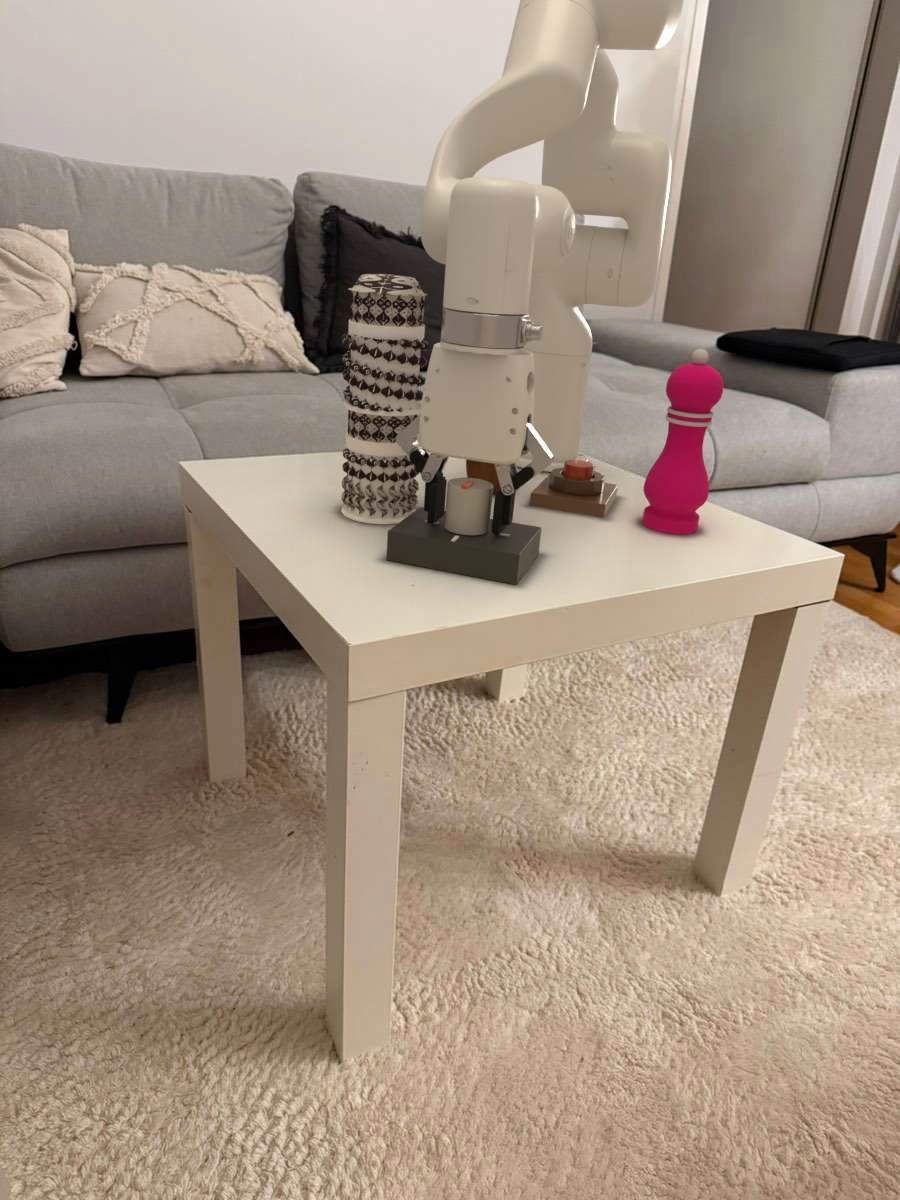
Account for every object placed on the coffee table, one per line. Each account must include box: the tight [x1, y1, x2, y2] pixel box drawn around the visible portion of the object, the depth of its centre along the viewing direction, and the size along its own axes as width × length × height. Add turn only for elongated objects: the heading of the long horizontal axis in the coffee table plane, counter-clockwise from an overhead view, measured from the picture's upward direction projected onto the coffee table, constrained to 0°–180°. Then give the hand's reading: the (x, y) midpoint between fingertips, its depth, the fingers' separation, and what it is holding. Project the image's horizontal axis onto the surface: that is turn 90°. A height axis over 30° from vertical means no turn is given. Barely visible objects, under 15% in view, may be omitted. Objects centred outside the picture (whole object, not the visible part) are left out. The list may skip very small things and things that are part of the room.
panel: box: [386, 506, 542, 585], centre depth 84 cm, size 9×13×3 cm
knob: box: [444, 477, 494, 536], centre depth 82 cm, size 4×4×5 cm
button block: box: [529, 467, 619, 519], centre depth 105 cm, size 10×9×4 cm
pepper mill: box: [641, 348, 724, 536], centre depth 95 cm, size 7×7×20 cm
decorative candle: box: [340, 273, 431, 525], centre depth 91 cm, size 9×9×25 cm
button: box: [563, 460, 595, 479], centre depth 104 cm, size 4×4×2 cm
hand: (467, 523), depth 83 cm, fingers open, 5 cm apart
